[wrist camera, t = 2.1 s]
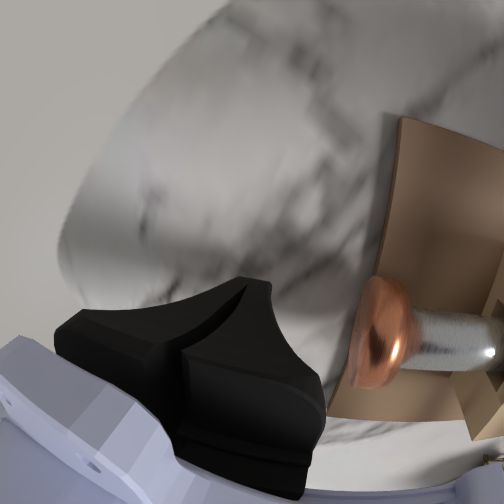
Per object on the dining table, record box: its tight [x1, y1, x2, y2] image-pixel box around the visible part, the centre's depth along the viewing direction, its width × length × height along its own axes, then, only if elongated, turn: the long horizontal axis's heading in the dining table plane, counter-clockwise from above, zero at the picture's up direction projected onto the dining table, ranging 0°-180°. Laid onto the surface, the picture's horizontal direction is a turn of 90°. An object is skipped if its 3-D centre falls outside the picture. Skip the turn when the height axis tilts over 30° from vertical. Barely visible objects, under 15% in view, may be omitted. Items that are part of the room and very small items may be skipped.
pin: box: [348, 276, 504, 390], centre depth 9 cm, size 10×4×4 cm, turn 85°
